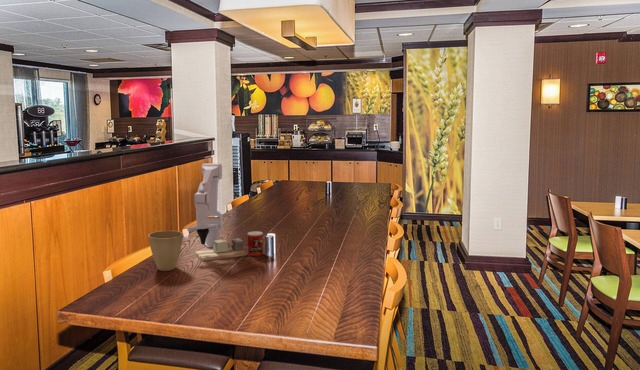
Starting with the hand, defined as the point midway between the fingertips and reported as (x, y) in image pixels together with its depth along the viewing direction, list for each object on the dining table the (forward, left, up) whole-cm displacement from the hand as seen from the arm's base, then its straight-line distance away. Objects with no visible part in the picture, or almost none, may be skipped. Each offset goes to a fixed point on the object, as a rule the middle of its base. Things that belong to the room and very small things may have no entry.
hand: (203, 244), depth 243 cm
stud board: (0, +8, -7) cm, 11 cm away
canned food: (+7, +24, -7) cm, 26 cm away
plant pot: (+11, -20, -7) cm, 23 cm away
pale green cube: (0, +9, -4) cm, 10 cm away
